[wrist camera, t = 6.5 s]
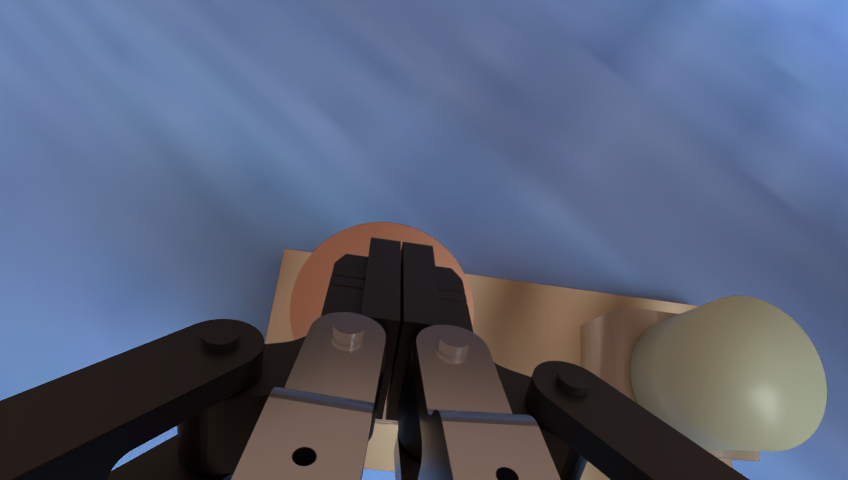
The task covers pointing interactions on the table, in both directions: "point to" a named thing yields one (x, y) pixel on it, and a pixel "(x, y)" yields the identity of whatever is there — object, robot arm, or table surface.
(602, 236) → the table surface
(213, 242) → the table surface
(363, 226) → the brown rounded piece
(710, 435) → the pale green rounded knob
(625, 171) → the table surface
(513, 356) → the button board
